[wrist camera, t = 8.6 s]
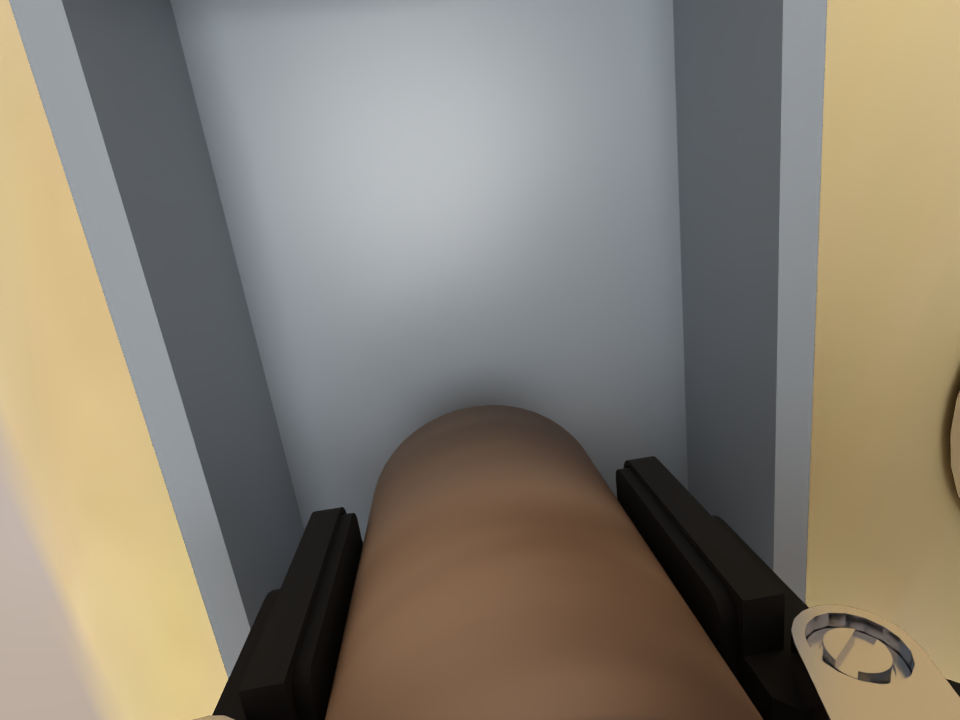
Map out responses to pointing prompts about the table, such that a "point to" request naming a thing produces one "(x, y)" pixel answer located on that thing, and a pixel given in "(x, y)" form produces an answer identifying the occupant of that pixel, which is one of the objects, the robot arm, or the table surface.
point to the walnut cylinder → (516, 590)
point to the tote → (446, 244)
